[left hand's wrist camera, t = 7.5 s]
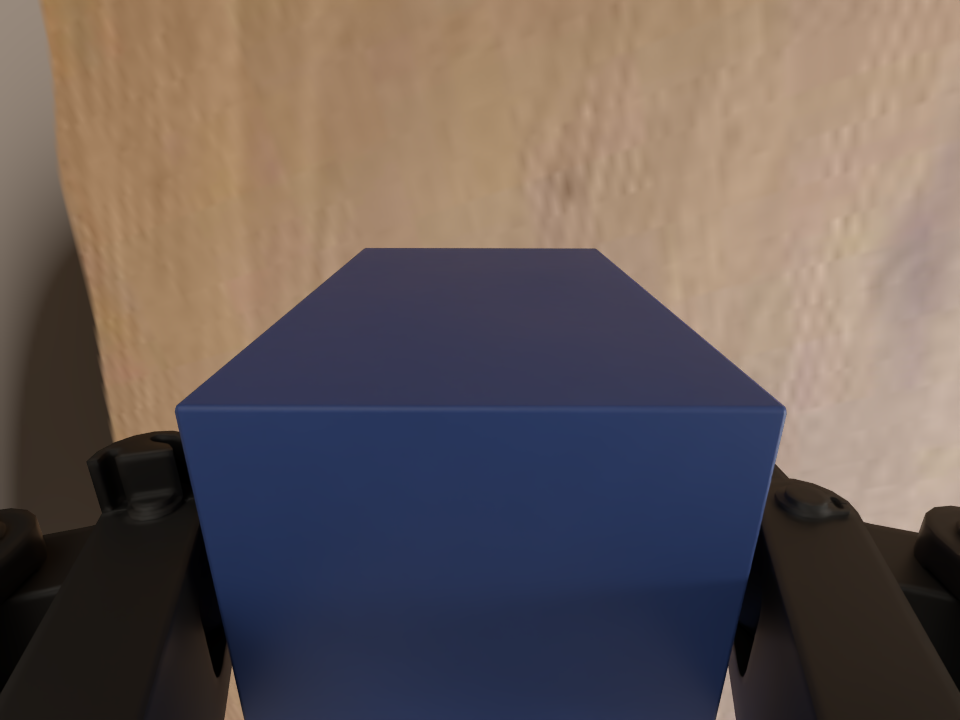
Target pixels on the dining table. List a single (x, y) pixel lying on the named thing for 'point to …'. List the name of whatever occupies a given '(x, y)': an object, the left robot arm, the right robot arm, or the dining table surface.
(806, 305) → the dining table surface
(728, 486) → the bar
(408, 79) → the dining table surface
